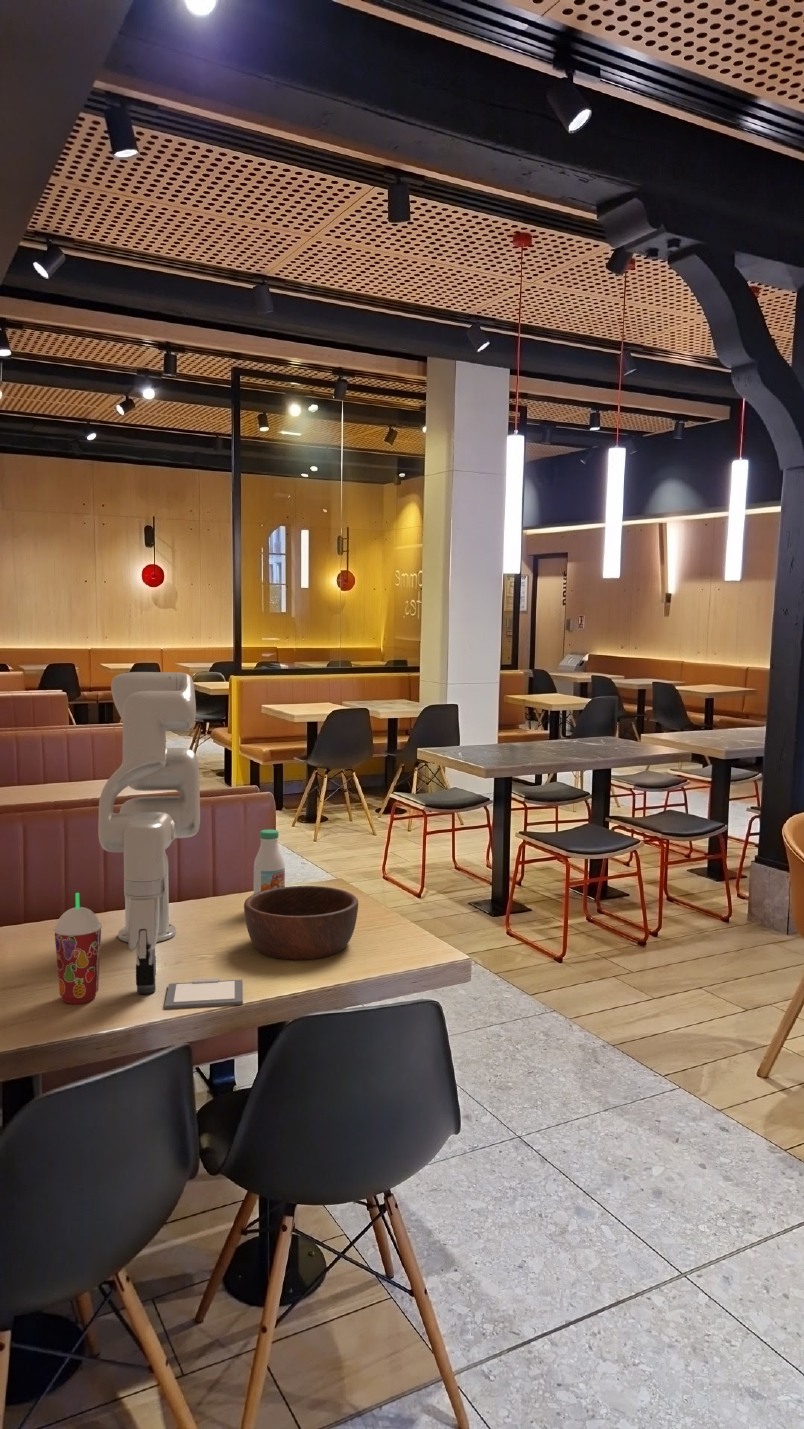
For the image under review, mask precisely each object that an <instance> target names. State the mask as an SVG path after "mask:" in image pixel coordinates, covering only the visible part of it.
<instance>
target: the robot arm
mask: <svg viewBox="0 0 804 1429" xmlns="http://www.w3.org/2000/svg"><path fill="white" fill-rule="evenodd" d="M110 690H111V696H112V700H113V703H114V706H115V708H116V710H117V714H118V715H119V717H120V718H121V721H122V762H121V765H120V766H119V767H118V768H117V769H116V770H115V771H114V772H113V773H112V774H111V776H109V778H108V780H107V781H106V783H105V785H104V787H103V788H102V790H101V793H100V796H99V802H98V822H97V823H98V824H97V826H98V828H97V829H98V831H97V832H98V834H97V835H98V842H99V844H100V846H101V848H102V849H103V850H104V851H106V852H109V853H110V852H111V853H123V892H124V893H123V896H124V902H125V904H124V905H125V906H124V907H125V909H124V911H125V912H124V918H125V920H124V921H125V922H124V924H125V926H123V927H122V928H121V929H119V930H118V932H117V937H118V939H119V940H121V941H122V942H124V943H125V942H126V943H128V945H127V950H128V951H129V952H133V951H135V950H136V944H137V955H136V965H135V984H136V985H135V986H136V987H137V986H145V985H153V984H154V963H152V950H153V949H154V948H155V949H156V946H157V943H158V942H163V941H167V940H168V939H171V938H173V937H174V936H175V935H176V933H177V928H176V926H175V925H174V924H171V923H170V915H169V912H170V911H169V909H170V907H169V906H170V903H169V902H170V901H169V898H170V896H169V895H170V894H169V858H168V855H167V852H166V849H168V848H169V847H170V846H171V844H172V842H174V840H175V839H185V838H186V839H187V838H191V837H195V835H197V833H198V832H199V830H200V825H201V797H200V796H201V795H200V794H201V792H200V791H201V790H200V789H201V788H200V786H201V785H200V766H199V765H200V764H199V759H198V756H197V754H196V753H195V752H194V751H193V750H192V749H190V748H186V747H172V748H171V747H169V748H168V747H166V746H167V745H166V744H167V743H166V732H185V731H189V730H192V728H194V725H195V722H196V714H197V705H196V702H197V700H196V692H195V691H196V690H195V684H194V680H193V678H192V677H191V675H190V674H188V673H185V672H178V671H175V672H174V671H173V672H168V671H166V672H165V671H163V672H162V671H161V672H159V671H155V672H154V671H131V672H123V673H120V674H117V675H115V676H114V677H113V678H112V681H111V684H110ZM128 787H129V788H130V789H132V790H135V791H141V792H142V791H143V792H146V791H147V792H148V791H149V792H151V791H152V792H154V791H176V792H178V793H179V795H169V796H168V795H165V796H164V795H163V796H160V795H158V796H141V797H140V796H139V797H133V798H130V799H128V800H126V801H124V803H123V804H122V805H121V807H120V810H119V812H118V813H117V812H116V813H114V806H115V802H116V799H117V797H118V796H119V794H120V793H121V792H122V791H123V790H125V788H128ZM147 945H150V948H146V947H147ZM146 952H149V955H148V954H147V953H146ZM156 957H157V956H156V955H155V977H156V976H157V966H156V965H157V961H156V960H157V958H156Z"/></svg>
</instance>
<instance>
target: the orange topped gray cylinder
mask: <svg viewBox="0 0 804 1429" xmlns="http://www.w3.org/2000/svg"><path fill="white" fill-rule="evenodd" d="M146 948H150V945H147V947H146ZM135 950H136V954H135V956H137V944H136V947H135ZM146 953H147V954H148V955H149V952H146ZM155 956H156V947H155V948H154V949H153V950H152V963H154V984H153V985H145V986H137V985H136V993H137V994H142V995H147V994H152V993H154V992H156V976H155Z"/></svg>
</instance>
